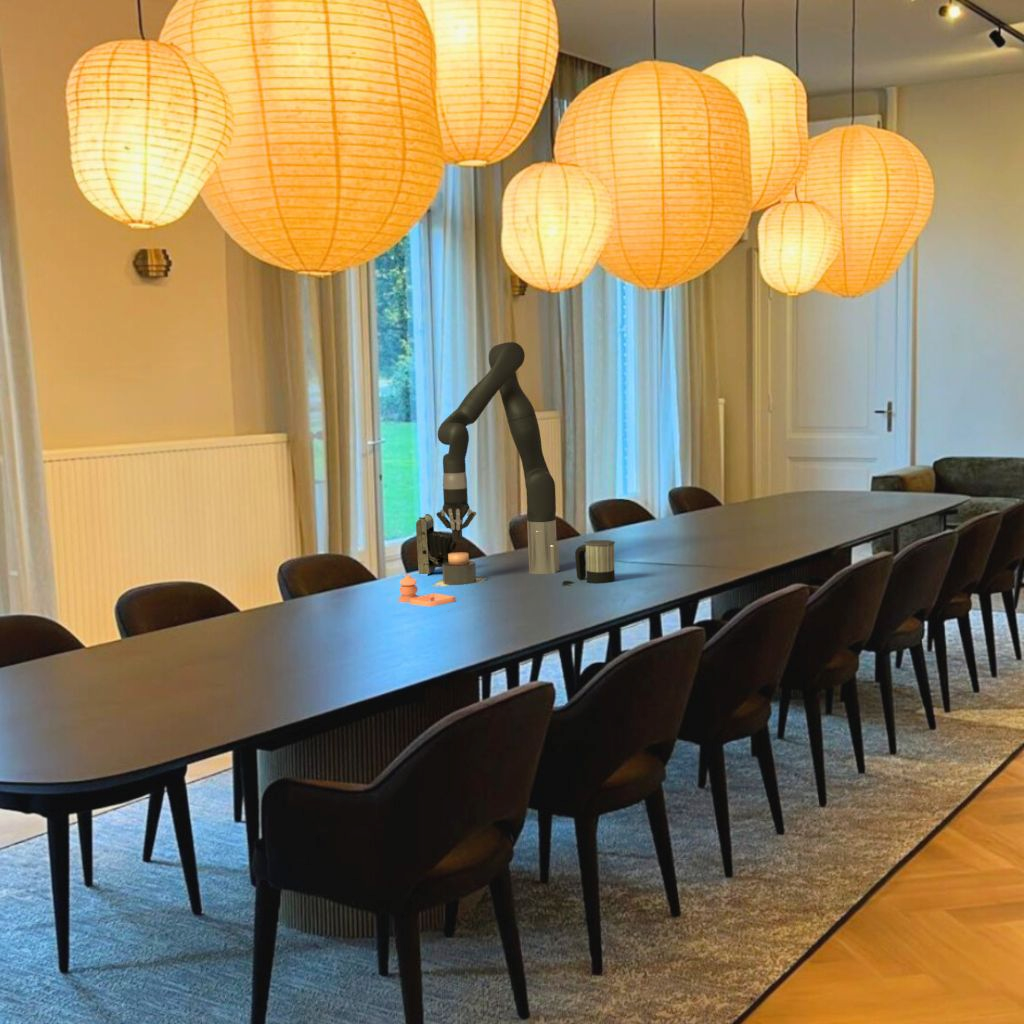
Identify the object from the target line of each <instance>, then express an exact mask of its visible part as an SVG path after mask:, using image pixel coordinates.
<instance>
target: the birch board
mask: <svg viewBox="0 0 1024 1024" xmlns="http://www.w3.org/2000/svg"><path fill="white" fill-rule="evenodd" d="M487 580H488V578H487V577H476V582H474V583H473V584H475V583H481V582H485V581H487ZM433 585H435V586H433ZM438 585H441V586H440V587H449V586H451V585H447V584H444V583H443V579H441V580H439V581H437V582H436V583H434V584H432V585H431V587H439V586H438Z"/></svg>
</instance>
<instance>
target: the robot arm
mask: <svg viewBox="0 0 1024 1024" xmlns="http://www.w3.org/2000/svg"><path fill="white" fill-rule="evenodd" d="M525 355H526V354H525V351H524V349H523V347H522V346H521V344H520V343H518V342H514V341H506V342H503V343H499V344H496V345H494V346H492V348H491V349H490V350H489V353H488V363H489V366H490V369H489V371H487V374H486V375H485V376H483V378H482V379H481V380H480V381H479V382H478V383H477V384H475V385H474V387H472V389H470V391H469V392H468V393H467V394H466V396H465V397H464V398H463V400H462V402H460V404H459V405H458V407H457V408H456V410H454V411H453V412H452V413H451V414H450V415H448V416H447V417H446V418H445V420H444V421H442V423H441V424H440V426H439V427H438V429H437V439H438V441H439V442H440V443H441V444H442V445H446V446H449V447H448V453H445V454H444V455H443V457H442V471H443V472H442V473H443V475H442V476H443V477H442V491H443V492H442V494H443V506H442V509H441V510H440V511H438V512H436V516H437V518H438V520H439V521H441V523H442V524H443V526H444V527H445V528H446V529H450V530H451V535H452V539H453V540H454V542H456V543H460V542H461V541H462V540H463V529H466V528H467V527H469V525H470V524H471V522H472V521H473V519H474V518H475V516H476V515H477V512H476V511H473V510H472V509H471V508H470V505H469V502H468V501H469V498H468V497H469V496H468V477H467V471H466V470H467V469H466V468H467V467H466V466H467V465H466V456H467V453H468V447H469V442H470V441H469V440H470V434H469V430H468V429H467V426H469V425H473V424H474V423H476V421H477V420H478V418H479V417H480V416H481V414H482V413H483V412H484V410H485V409H486V408H487V406H488V405H489V403H490V402H491V401H492V399H493V397H495V395H496V394H497V393H498V392H499V394H500V397H501V401H502V405H503V409H504V412H505V417H506V419H507V420H506V421H507V423H508V428H509V431H510V433H511V434H510V435H511V437H512V440H513V443H514V445H515V447H516V450H517V452H518V455H519V457H520V460H521V464H522V469H523V475H524V483H525V484H524V486H525V490H526V522H527V523H526V524H527V547H528V571H529V572H528V573H529V574H531V575H545V574H547V575H548V574H556V573H557V572H559V571H560V555H559V553H560V551H559V549H560V547H559V542H558V541H557V521H556V516H557V515H556V514H557V513H556V512H557V506H556V505H557V502H556V500H557V499H556V484H555V479H554V477H553V476H552V474H551V472H550V469H549V467H548V465H547V462H546V460H545V457H544V453H543V448H542V438H541V432H540V427H539V422H538V418H537V415H536V411H535V408H534V406H533V404H532V402H531V401H530V400H529V398H528V396H527V395H526V393H525V392H524V391H523V390H522V387H521V385H520V383H519V380H518V377H517V373H516V372H517V371H518V369H520V368H521V367H522V365H523V363H524V361H525ZM466 516H467V517H466ZM447 517H448V518H449V519H448V518H447ZM464 517H466V519H465V520H464Z"/></svg>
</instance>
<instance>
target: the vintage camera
mask: <svg viewBox="0 0 1024 1024" xmlns="http://www.w3.org/2000/svg"><path fill="white" fill-rule="evenodd" d="M434 524H435V523H434V517H433V516H432V515H431V514H430V513H425V515H424V516H423V517H419V518H418V519H417V521H416V522H415V532H416V533H415V534H416V550H417V551H416V552H417V563H418V564H417V565H418V574H419V575H420V574H429V575H431V574H432V573H433V572H435V570H436V568H442V564H443V563H445V562H448V554H449V553H454V551H455V550H456V547H457V542H454V540H453V539H452V534H451V535H450V534H449V533H445V532H441V531H436V530H435V525H434ZM431 572H432V573H431ZM430 573H431V574H430Z"/></svg>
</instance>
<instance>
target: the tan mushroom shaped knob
mask: <svg viewBox="0 0 1024 1024" xmlns="http://www.w3.org/2000/svg"><path fill="white" fill-rule="evenodd" d="M469 556H470V555H469V552H467V551H466V552H465V551H463V552H462V551H458V552H457V551H455V552H453V553H452V552H450V553H449V554H448V563H449V564H450V565H464V564H468V563H469V561H470V559H469V558H470V557H469Z"/></svg>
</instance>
